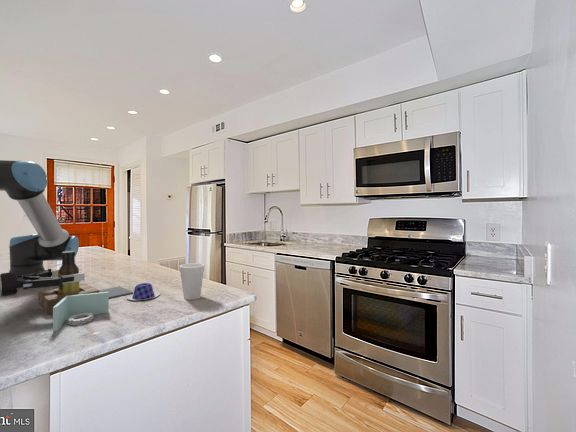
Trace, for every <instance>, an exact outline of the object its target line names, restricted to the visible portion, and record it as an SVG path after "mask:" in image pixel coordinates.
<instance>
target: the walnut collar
mask: <svg viewBox="0 0 576 432" xmlns="http://www.w3.org/2000/svg"><path fill="white" fill-rule="evenodd" d="M99 290H100V289H97V288H95V287H93V286H92V285H90V284H88V283H81V284H79V292H75V293H70V294H65V295H59V296H58V288H53V289H47V290H41V291H38V292H37V293H38V295H37V296H38V297H37V298H38V306H39V307H40V308H41V309H42V310H43V311H44V312H45V313H46V314H47V315H48V316H49V315H53V307H54V306H55V305H56V304H57V303H59V302H60V301H61V300H62V299H63V298H64V297H65V296H69V295H80V294H90V293H99Z"/></svg>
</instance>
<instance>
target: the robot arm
mask: <svg viewBox="0 0 576 432" xmlns="http://www.w3.org/2000/svg"><path fill="white" fill-rule="evenodd" d="M47 176H48V175H47V173H46V171H45V169H44V168H43V167H42V166H41V165H40V164H38V163H37V162H34V161H29V160H20V159H19V160H6V159H5V160H4V159H3V160H1V159H0V191H1V192H2V191H5V193H6V194H7V196H8V197H9V198H10V199H12V200H14V201H17V203H18V204H19V206H20V207H21V209H22V211H23V212H24V213H25V216H26V217H27V218H28V220H29V222H30V223H31V225H32V226H33V228H34V229H35V231H36V233H35V234H34V233H33V234H27V235H20V236H13V237H11V238H10V239H9V246H8V248H9V271H8V272H4V273H3V272H2V273H0V296H1V297H2V298H3V297H9V296H10V297H11V296H15V295H17V294H18V289H19V288H22V289H23V290H30V289H39V288H49V287H51V288H52V287H58V286H59V287H62V286H63V284H65V283H72V282H78V281H79V282H84V281H85V277H86V276H85V272H80V273H79V274H72V275H65V276H62V277H58V271H59V269H54V270H52V268H47V269H45V267H44V262H45V261H52V262H53V261H57V262H58V261H62V256H61V253H62V252H64V251H75V257H76V256H77V254H78V253H79V248H80V241H79V238H78V236H76V235H70V233H69V231H67V230H66V229H63V228H62V226H61V224H60V223H59V221H58V219H57V217H56V215H55V213H54V212H53V209H52V207H51V205H50V204H49V202H48V200H47V198H46V196H45V195H44V192H45V190H46V187H48V179H47V178H48V177H47Z"/></svg>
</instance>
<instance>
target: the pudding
mask: <svg viewBox="0 0 576 432" xmlns="http://www.w3.org/2000/svg"><path fill="white" fill-rule="evenodd" d="M160 295H161V293H160V292H159V291H154V288H153V284H151V283H149V282H142V283H140V284H139V283H138V284H136V285H135V286H134V290H133V294H128V296H127V297H126V299H127V300H129V301H145V300H146V301H147V300H150V299H151V300H152V299H154V298H156V297H159V296H160Z"/></svg>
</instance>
